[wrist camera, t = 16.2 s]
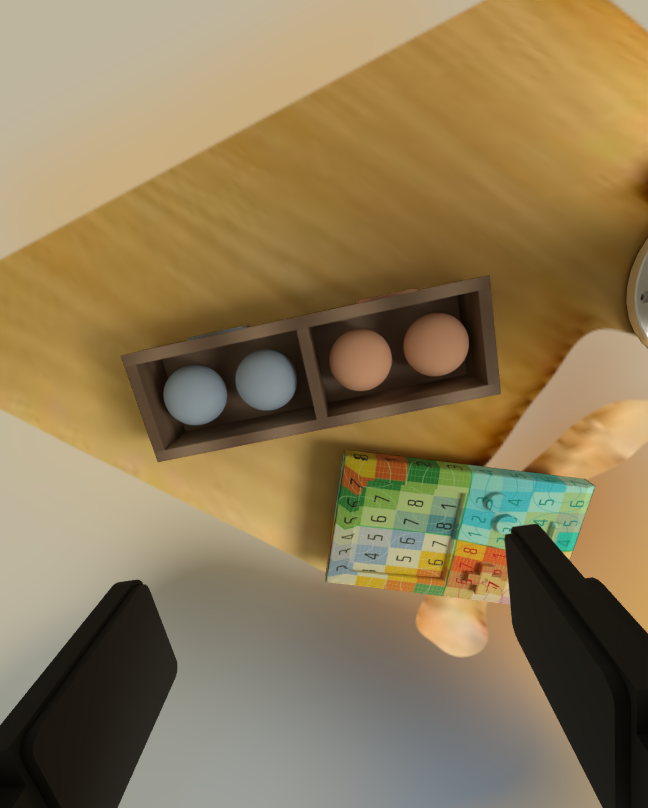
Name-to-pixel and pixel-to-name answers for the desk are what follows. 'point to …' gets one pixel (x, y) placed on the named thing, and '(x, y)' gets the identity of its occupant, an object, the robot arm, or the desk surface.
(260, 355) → the slate ball
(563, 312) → the desk surface
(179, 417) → the blue-grey ball
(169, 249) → the desk surface
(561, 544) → the puzzle game
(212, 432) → the divided wooden box
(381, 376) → the terracotta ball
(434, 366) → the tan rounded piece
